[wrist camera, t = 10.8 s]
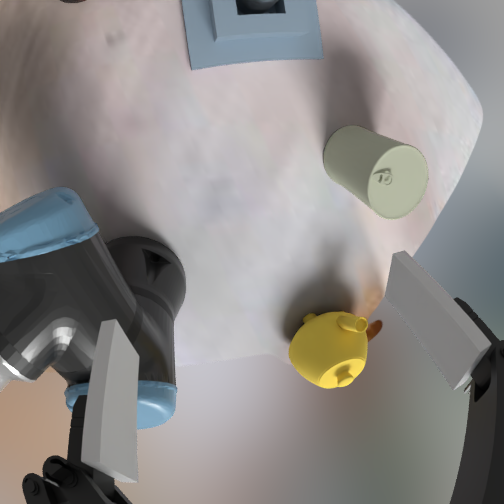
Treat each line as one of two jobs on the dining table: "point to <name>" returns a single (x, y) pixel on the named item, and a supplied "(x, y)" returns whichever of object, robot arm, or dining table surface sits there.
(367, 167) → the can
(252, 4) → the peg
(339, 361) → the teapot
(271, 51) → the socket block
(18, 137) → the dining table surface
